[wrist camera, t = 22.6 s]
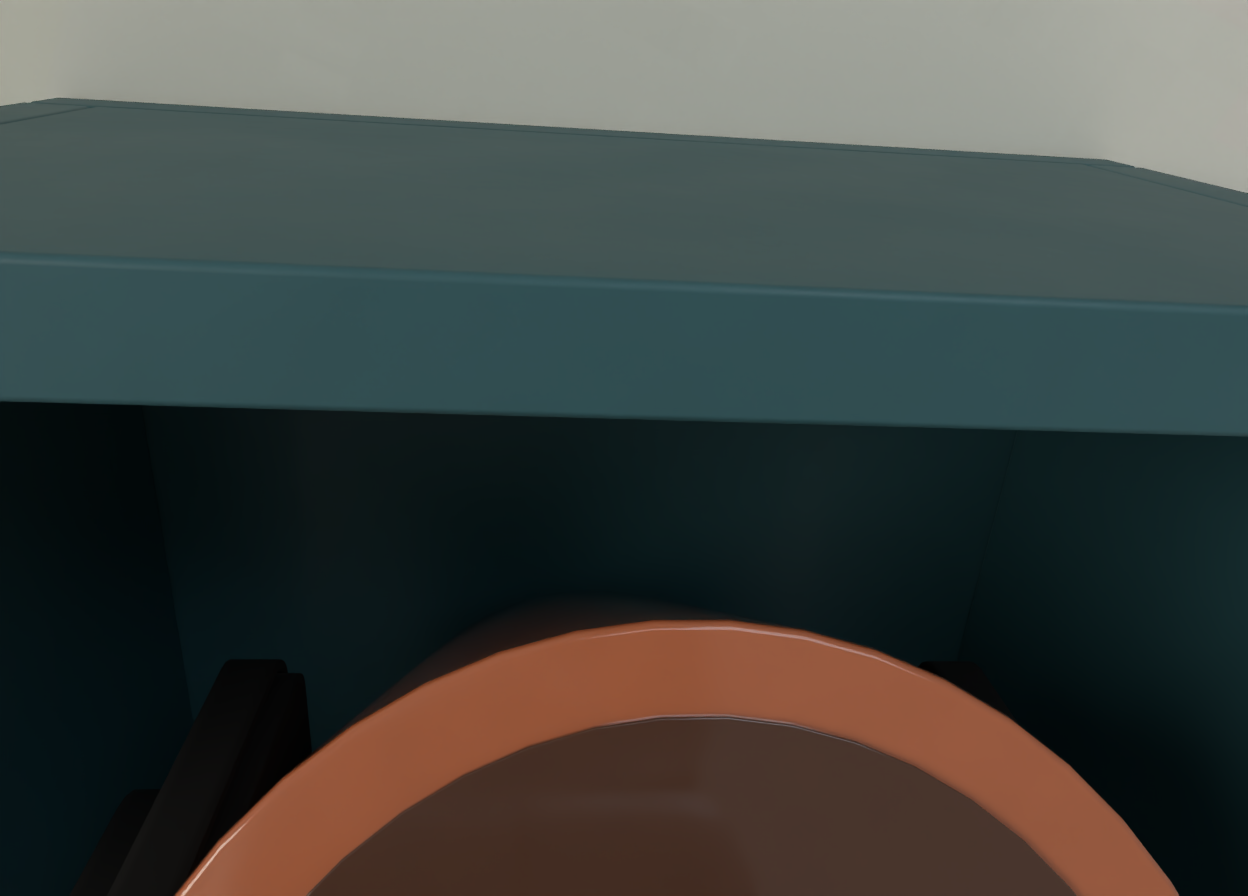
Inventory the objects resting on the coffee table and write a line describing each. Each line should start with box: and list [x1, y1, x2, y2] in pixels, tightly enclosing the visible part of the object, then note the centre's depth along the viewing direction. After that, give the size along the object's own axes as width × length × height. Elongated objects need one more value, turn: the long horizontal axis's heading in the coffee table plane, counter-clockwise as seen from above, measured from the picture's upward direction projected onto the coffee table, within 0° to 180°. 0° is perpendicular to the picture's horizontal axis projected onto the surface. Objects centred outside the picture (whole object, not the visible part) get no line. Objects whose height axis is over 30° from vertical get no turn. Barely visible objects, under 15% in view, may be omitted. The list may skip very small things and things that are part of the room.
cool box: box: [0, 98, 1248, 896], centre depth 12 cm, size 16×14×8 cm
